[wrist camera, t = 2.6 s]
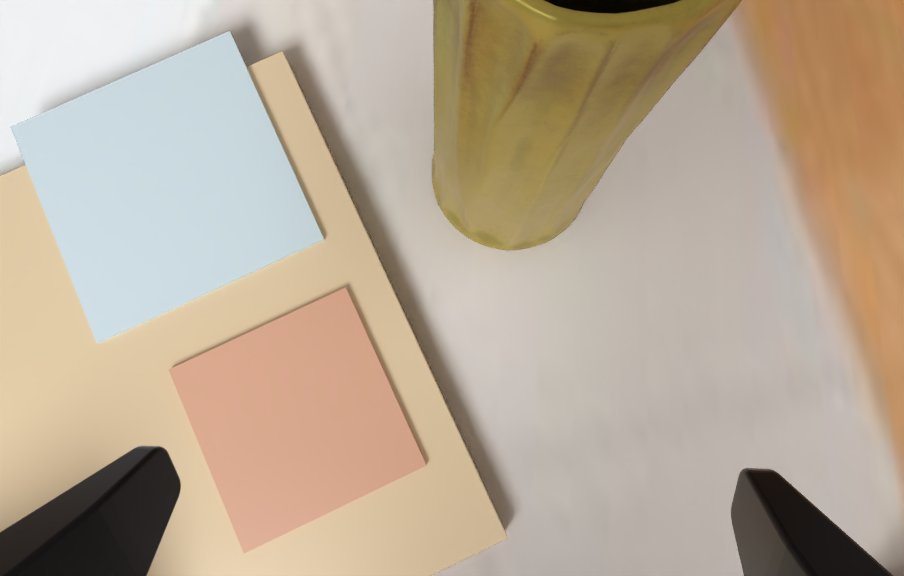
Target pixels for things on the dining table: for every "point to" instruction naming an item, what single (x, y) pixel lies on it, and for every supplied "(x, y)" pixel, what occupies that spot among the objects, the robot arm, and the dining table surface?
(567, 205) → the vase
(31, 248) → the picture board
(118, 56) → the dining table surface
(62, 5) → the dining table surface
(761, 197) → the dining table surface
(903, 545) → the dining table surface
